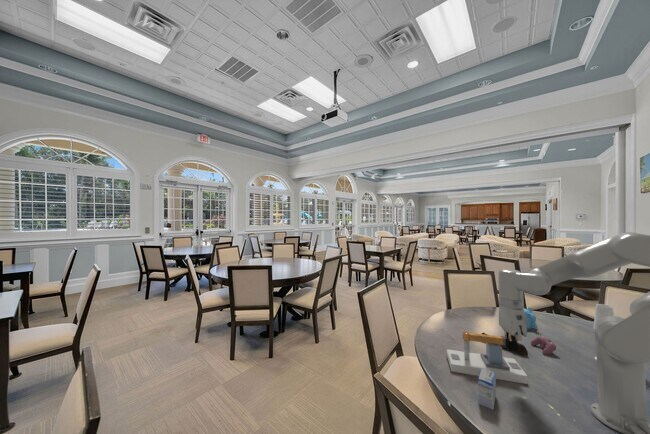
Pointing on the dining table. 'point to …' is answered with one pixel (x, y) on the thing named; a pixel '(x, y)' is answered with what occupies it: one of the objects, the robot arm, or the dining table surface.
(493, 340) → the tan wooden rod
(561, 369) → the dining table surface
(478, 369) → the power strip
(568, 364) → the dining table surface
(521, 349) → the hand tool
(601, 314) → the champagne flute
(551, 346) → the video game controller
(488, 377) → the medicine box
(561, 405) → the dining table surface
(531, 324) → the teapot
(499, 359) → the blue rectangular block
